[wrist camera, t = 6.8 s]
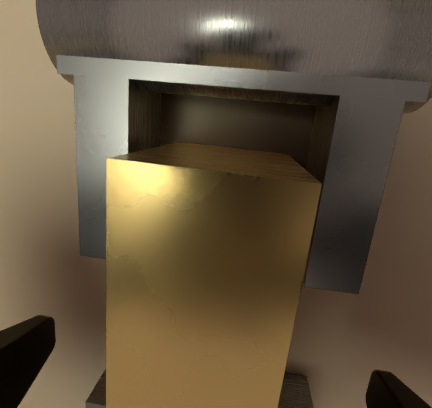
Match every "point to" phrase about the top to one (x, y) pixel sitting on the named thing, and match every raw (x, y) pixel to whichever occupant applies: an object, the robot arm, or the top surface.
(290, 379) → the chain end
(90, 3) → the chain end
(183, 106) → the top surface
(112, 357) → the gold ingot
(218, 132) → the top surface
